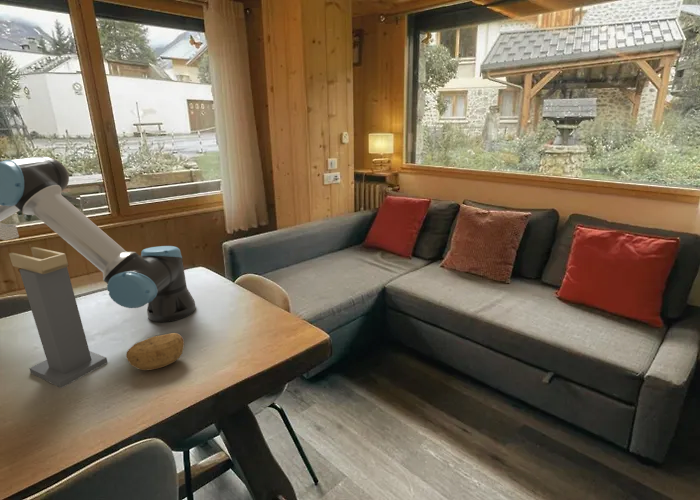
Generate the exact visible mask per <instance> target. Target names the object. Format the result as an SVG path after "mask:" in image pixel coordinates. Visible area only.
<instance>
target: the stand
mask: <svg viewBox="0 0 700 500" xmlns="http://www.w3.org/2000/svg"><path fill="white" fill-rule="evenodd" d="M30 250H31V254H32V256H28V255H25V254H20V253H16V252H13V251H12V252H9V253H8V256H9V259H10V261H11V262H10V263H11V264H12V267H15V268H18V270H19V273H20V277H21V280H22V283H23V287H24V290H25V294H26V297H27V300H28V302H29V306H30V309H31V313H32V316H33V317H32V318H33V319H34V323H35V326H36V330H37V331H38V335H39V339H40V342H41V346H42V349H43V352H44V357H45V359H46V360H44V361H41V362H39V363H36V364H35V365H32V366H31V367H29V372H30V374H31V375H33V376H36V377H37V378H39V379H42V380H44V381H46V382H48V383H50V384H52V385H55V386H57V387H59V388H62V389H63V388H64V387H66V386H67V385H69V384H71V383H73V382H76V380H78V379H80V378H82V377H83V376H86V375H88V374H89V373H91V372H93V371H95V370H97V369H99V368H100V367H102V366H103V365H106V364H107V363H109V362H108V359H107V357H106V356H104V355H101V354H99V353H96V352H93V351H91V350H90V349H89V345H88V342H87V337H86V333H85V330H84V326H83V322H82V319H81V315H80V311H79V307H78V304H77V299H76V296H75V293H74V289H73V284H72V281H71V277H70V273H69V269H68V267H69V263H68V259H67V255H66V253H63V252H59V251H56V250H55V251H54V250H50V249H45V248H41V247H36V246H32V247H30Z"/></svg>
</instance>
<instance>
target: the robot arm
mask: <svg viewBox="0 0 700 500" xmlns="http://www.w3.org/2000/svg"><path fill="white" fill-rule="evenodd" d="M69 181H70V177H69V172H68V170H67V168H66V167H65V165H63V163H62V162H61V161H58V160H57V159H55V158H53V157H49V156H41V155H40V156H33V157H25V158H17V159H5V160H3V161H2V160H1V161H0V223H2V221H4V220H6V219H7V218H9V217H11V216H12V215H13V216H14V214H16V213H18V212H19V211H20V212H22V213H23V214H24V215H27V216H36V217H37V219H39V220H40V221H41V222H43V224H45V225H47V227H48V228H50V230H52V231H53V232H54V233H55V234H57V235H58V236H59V237H60V238H61V239H63V240H64V241H65V242H66V243H67V244H68V245H70V246H71V247H72V248H73V249H74V250H76V251H77V253H79V254H81V256H83V257H84V258H85V259H86V260H87V261H89V262H90V263H91V264H92V265H93V266H94V267H96V268H97V269H98V270H99V271H100V272H102V281H103V282H104V283H106V285H107V286H106V291H107V292H108V295H109V297H110V299H111V300H112V301H113V302H114V303H116V304H117V305H119V306H121V307H122V308H123V307H124V308H127V309H138V308H141V307H144V306H146V305H147V309H146V314H147V317H148V320H150V321H152V322H157V323H168V322H175V321H178V320H181V319H184V318H187V317H188V316H190V315H192V314H193V313H194V312H195V311H196V307H197V306H196V302H195V299H194V297H193V295H192V294H191V292H190V291H189V289H188V287H187V280H186V279H187V278H186V274H185V268H184V262H183V256H182V252H181V249H180V248H179V247H177V246H173V245H161V246H160V245H159V246H151V247H146V248H144V249H142V250H141V253H140V255H139V254H138V253H137V252H136V251H126V249H124V247H122V245H120V244H118V243H117V242H116V241H115V240H114V239H113V238H112V237H110V236H109V235H108V234H107V233H106V232H104V231H103V230H102V228H100V227H99V226H98V225H97V224H95V223H94V222H93V220H91V219H90V218H88V217H87V216H86V215H85V214H84V213H83V212H82V211H81V210H79V209H78V208H77V207H76V206H74V204H73V203H72V202H70V200H68V199H67V198H66V197H64V196H63V195H62V192H63V191H64V190H65V189H66V188H67V186H68V184H69Z"/></svg>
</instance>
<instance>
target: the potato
mask: <svg viewBox="0 0 700 500" xmlns="http://www.w3.org/2000/svg"><path fill="white" fill-rule="evenodd" d="M184 347H185V340H184V338H183V337H182V335H180V334H179V333H177V332H173V333H171V332H170V333H165V334H161V335H154V336H153V335H152V336H150V337H148V338H146V339H144V340H141V341H138V342H136V343H134V344H133V345H132V346H131V347H130V348H129V349H128V350H127V351H126V355H125V357H126V359H127V361H128V363H129V364H130V365H131V366H132V367H134V368H137V369H139V370H142V371H152V370H156V369H160V368H163V367H167V366H168V365H172V364H173V363H175V362H176V361H177V360H179V358H180V357H181V356H182V354H183V350H184Z"/></svg>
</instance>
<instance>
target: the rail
mask: <svg viewBox="0 0 700 500" xmlns="http://www.w3.org/2000/svg"><path fill="white" fill-rule="evenodd" d="M19 237H20V235H19V231H18V229H17V226H16V225H14V224H9V223H3V222H0V240H2V241H8V240H12V239H17V238H19Z"/></svg>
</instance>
